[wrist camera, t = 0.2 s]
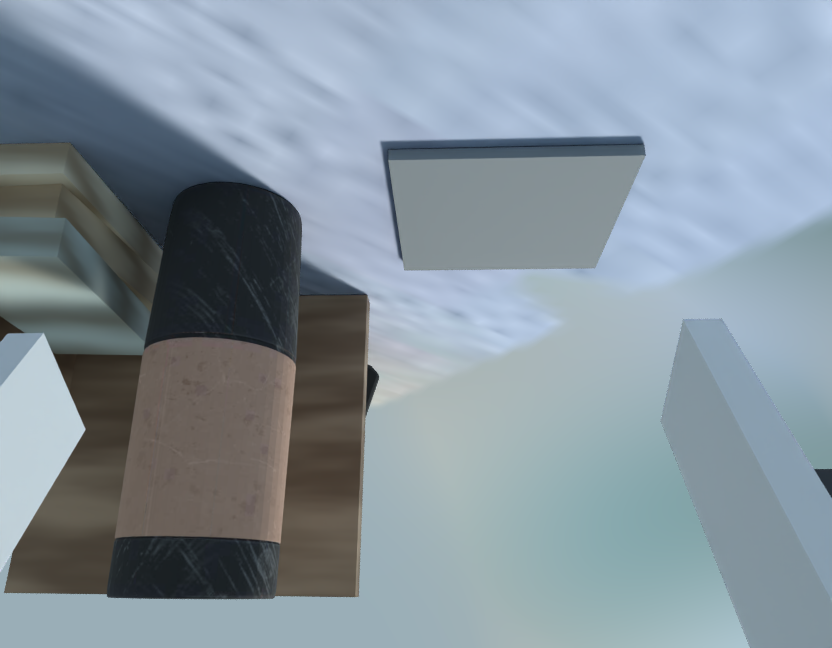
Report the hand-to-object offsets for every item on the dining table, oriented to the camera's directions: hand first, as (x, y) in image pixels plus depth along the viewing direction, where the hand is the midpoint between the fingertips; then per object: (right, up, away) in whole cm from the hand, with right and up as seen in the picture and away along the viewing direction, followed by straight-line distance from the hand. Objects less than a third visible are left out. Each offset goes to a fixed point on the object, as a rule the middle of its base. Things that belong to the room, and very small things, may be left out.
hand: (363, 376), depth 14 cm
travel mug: (-9, +7, +24) cm, 27 cm away
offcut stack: (-18, +7, +26) cm, 32 cm away
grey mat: (+6, +7, +23) cm, 25 cm away
